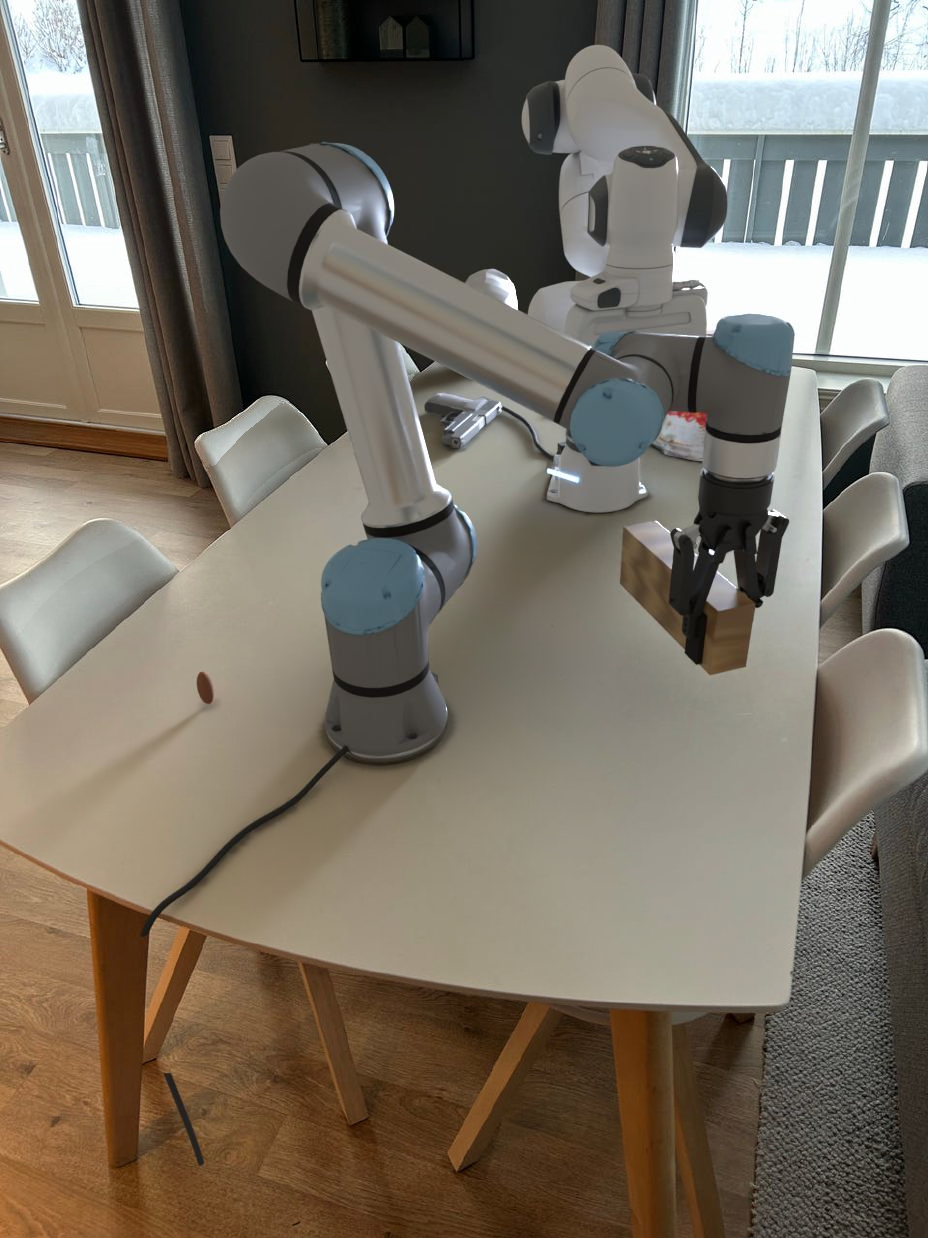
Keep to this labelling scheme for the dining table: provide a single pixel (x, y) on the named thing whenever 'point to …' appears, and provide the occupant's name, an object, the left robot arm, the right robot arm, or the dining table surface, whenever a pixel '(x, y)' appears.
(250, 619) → the dining table surface
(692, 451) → the cake
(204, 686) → the oval capsule
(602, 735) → the dining table surface
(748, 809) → the dining table surface
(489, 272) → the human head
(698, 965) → the dining table surface
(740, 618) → the bar
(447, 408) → the pistol
